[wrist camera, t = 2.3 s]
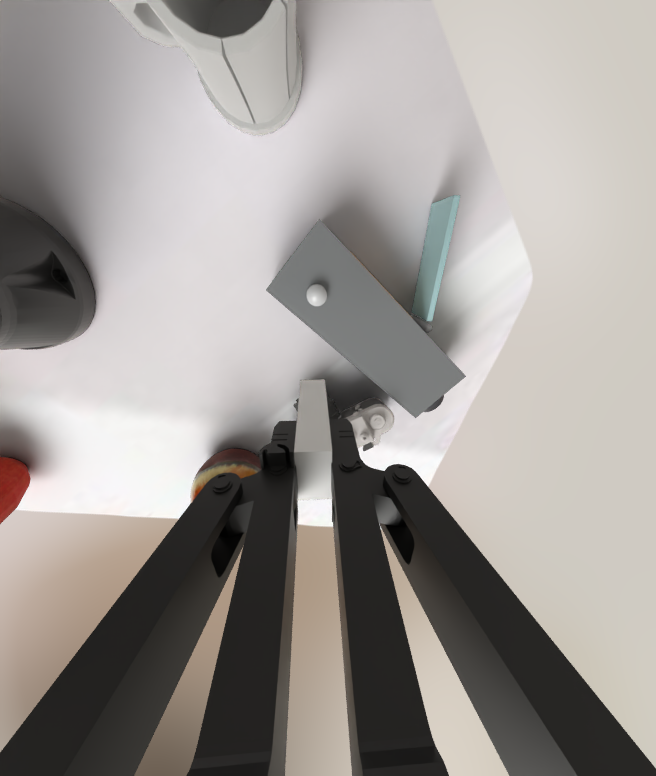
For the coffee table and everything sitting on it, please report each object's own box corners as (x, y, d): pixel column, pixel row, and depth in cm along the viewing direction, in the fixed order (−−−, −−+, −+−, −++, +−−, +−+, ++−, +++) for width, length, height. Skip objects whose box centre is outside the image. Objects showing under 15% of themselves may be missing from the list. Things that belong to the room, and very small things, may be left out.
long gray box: (272, 283, 31) (264, 291, 25) (318, 223, 28) (321, 215, 22) (407, 401, 40) (425, 427, 34) (450, 364, 38) (478, 385, 32)
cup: (238, 174, 26) (192, 122, 15) (160, 63, 22) (26, -108, 12) (322, 88, 24) (336, -44, 13) (250, -52, 20) (187, -401, 9)
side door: (430, 203, 28) (452, 195, 24) (440, 204, 28) (464, 196, 24) (408, 322, 34) (422, 332, 30) (417, 322, 34) (432, 332, 30)
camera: (391, 418, 40) (406, 437, 30) (299, 460, 42) (284, 492, 31) (364, 364, 40) (370, 364, 29) (273, 409, 41) (249, 424, 31)
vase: (237, 428, 40) (202, 519, 27) (285, 467, 45) (276, 562, 31) (189, 463, 43) (135, 563, 29) (239, 497, 47) (213, 597, 34)
